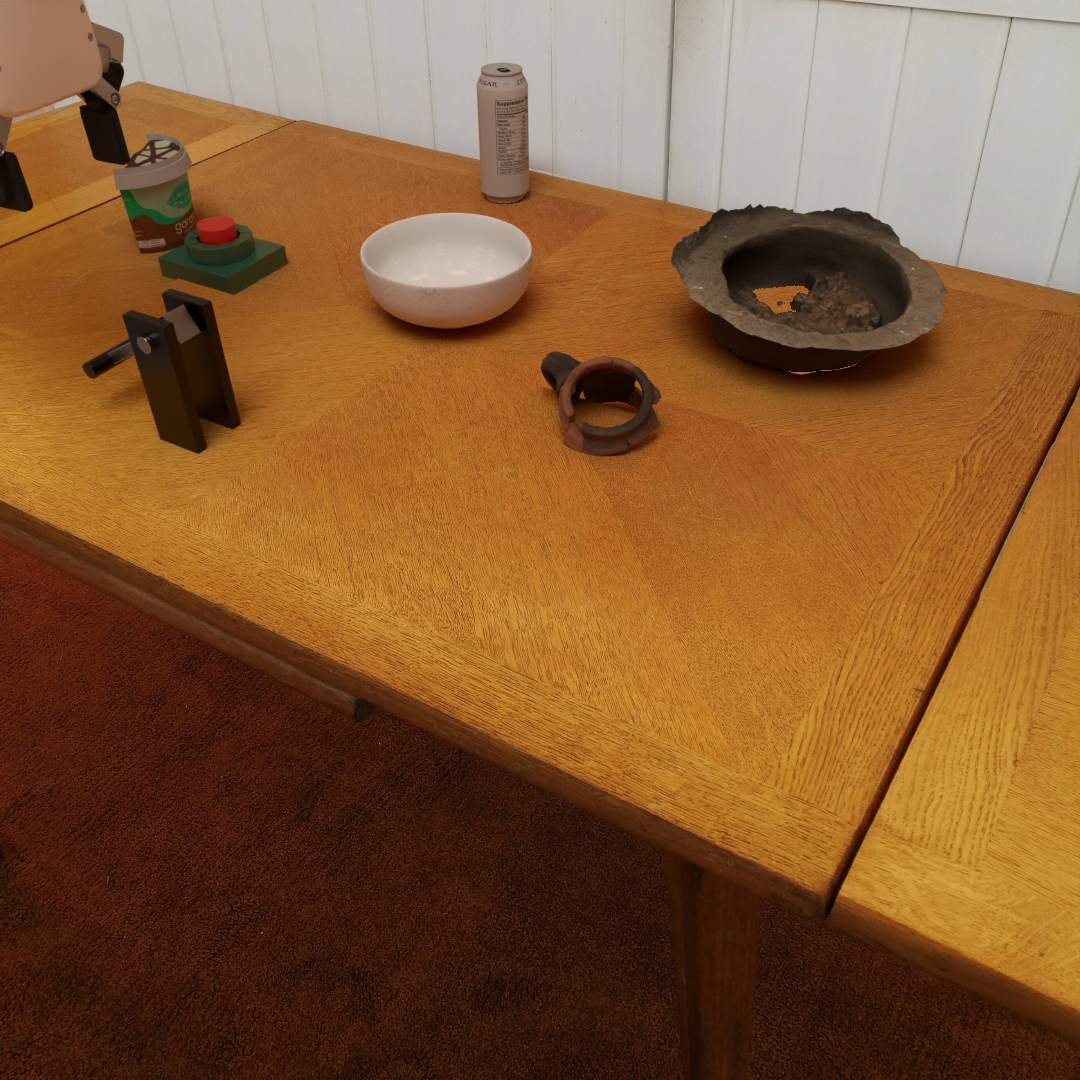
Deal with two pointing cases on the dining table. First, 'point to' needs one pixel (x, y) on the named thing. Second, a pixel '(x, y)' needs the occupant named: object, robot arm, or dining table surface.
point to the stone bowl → (808, 285)
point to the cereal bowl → (447, 268)
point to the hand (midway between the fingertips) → (66, 183)
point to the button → (216, 230)
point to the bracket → (183, 372)
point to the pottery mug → (601, 400)
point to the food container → (158, 194)
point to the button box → (224, 261)
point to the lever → (124, 350)
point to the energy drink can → (503, 132)
